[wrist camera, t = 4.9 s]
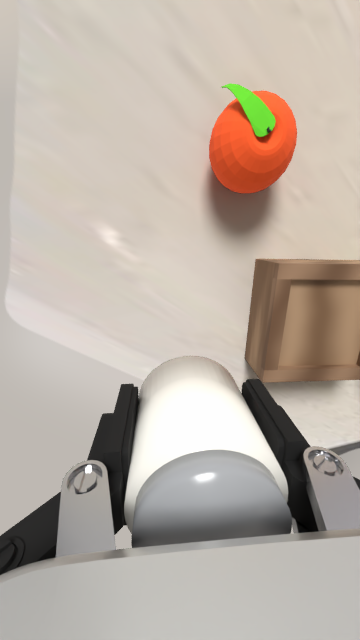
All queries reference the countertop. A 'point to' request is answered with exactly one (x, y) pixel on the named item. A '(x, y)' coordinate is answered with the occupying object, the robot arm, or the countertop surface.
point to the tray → (305, 320)
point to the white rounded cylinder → (200, 461)
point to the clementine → (252, 140)
